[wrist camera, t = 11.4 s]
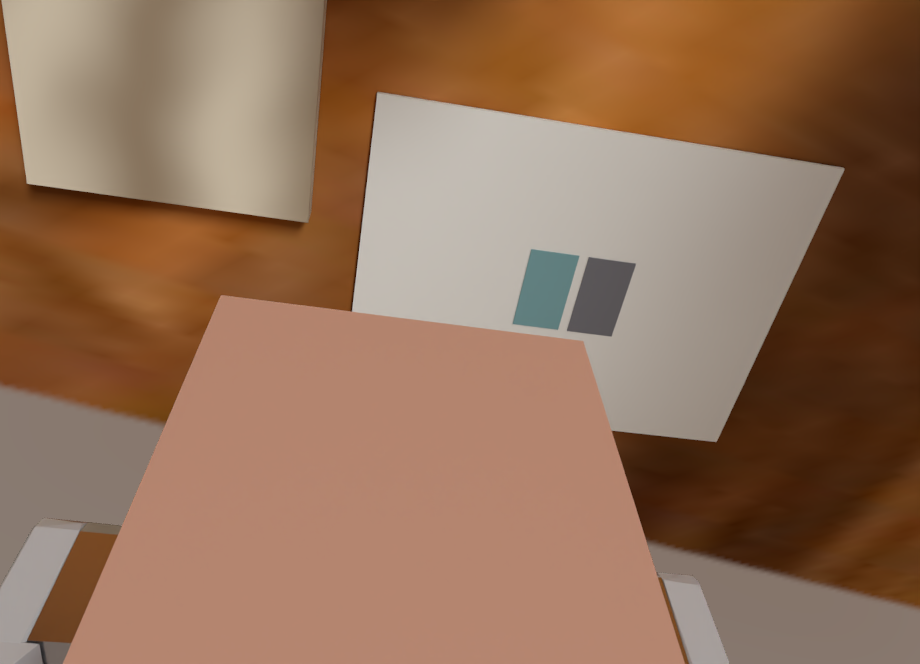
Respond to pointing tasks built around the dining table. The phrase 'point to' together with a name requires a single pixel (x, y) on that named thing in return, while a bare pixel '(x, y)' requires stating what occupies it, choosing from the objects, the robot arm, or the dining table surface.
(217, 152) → the coaster
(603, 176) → the mat
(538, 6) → the dining table surface
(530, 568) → the terracotta block
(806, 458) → the dining table surface
